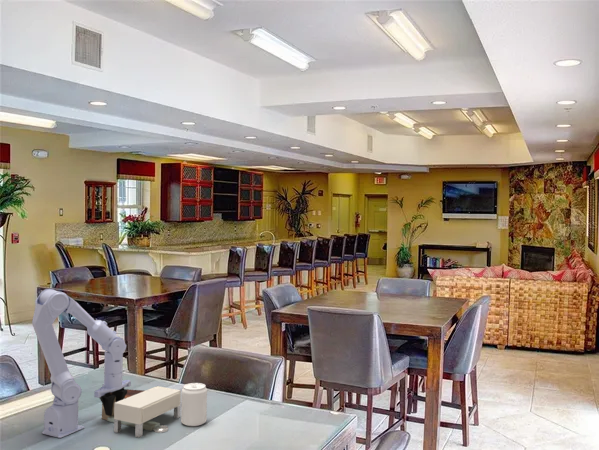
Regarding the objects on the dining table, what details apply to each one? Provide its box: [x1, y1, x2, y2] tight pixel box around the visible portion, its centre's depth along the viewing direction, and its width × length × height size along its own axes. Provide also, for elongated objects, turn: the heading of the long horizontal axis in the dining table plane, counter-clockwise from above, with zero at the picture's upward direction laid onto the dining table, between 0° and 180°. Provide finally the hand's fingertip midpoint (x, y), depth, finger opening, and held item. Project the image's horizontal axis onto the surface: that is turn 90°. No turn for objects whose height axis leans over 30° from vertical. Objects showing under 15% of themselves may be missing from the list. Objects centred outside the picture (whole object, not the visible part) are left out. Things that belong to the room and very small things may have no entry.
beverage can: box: [180, 382, 208, 427], centre depth 180 cm, size 8×8×12 cm
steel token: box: [153, 424, 169, 434], centre depth 174 cm, size 4×4×1 cm
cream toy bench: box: [113, 385, 182, 439], centre depth 178 cm, size 20×10×9 cm, turn 155°
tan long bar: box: [101, 397, 161, 432], centre depth 179 cm, size 4×21×7 cm, turn 65°
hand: (112, 413), depth 182 cm, fingers closed on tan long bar, 3 cm apart
